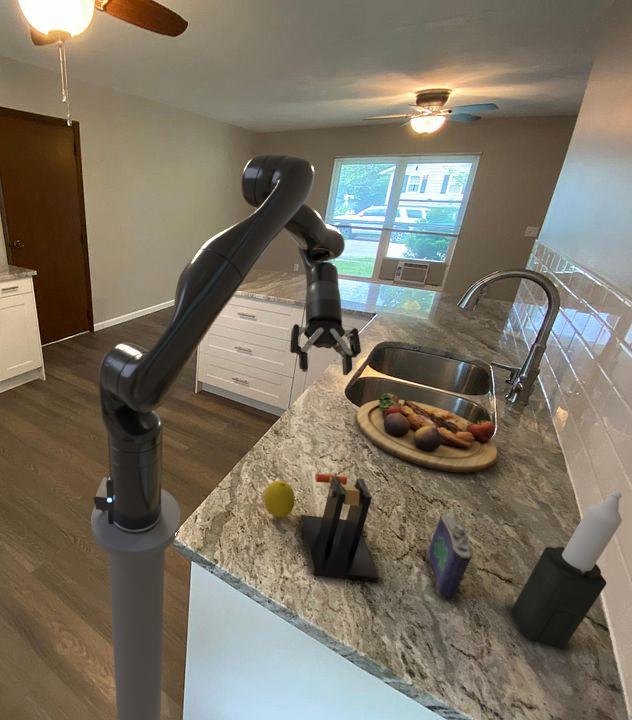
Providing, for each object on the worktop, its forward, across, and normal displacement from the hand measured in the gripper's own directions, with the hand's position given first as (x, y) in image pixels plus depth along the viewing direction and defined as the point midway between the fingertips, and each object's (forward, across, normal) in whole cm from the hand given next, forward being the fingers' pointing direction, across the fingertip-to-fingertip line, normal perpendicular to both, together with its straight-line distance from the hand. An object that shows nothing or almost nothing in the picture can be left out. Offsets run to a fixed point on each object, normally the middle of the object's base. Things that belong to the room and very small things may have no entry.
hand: (325, 372), depth 82 cm
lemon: (+29, -9, +4) cm, 31 cm away
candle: (+41, +26, -8) cm, 49 cm away
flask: (+36, +16, -3) cm, 40 cm away
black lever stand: (+34, 0, -1) cm, 34 cm away
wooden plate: (+5, +32, +28) cm, 43 cm away
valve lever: (+25, 0, -5) cm, 25 cm away
